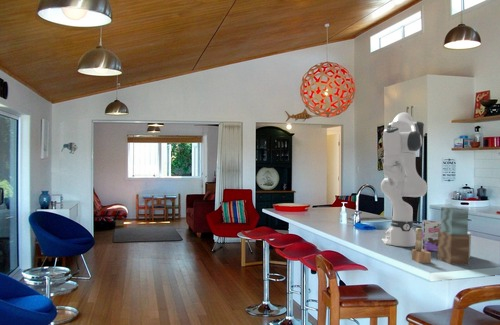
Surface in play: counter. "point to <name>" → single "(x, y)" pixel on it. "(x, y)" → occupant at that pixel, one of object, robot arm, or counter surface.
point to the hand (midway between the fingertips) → (395, 187)
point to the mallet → (420, 250)
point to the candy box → (430, 235)
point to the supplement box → (469, 242)
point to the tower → (453, 236)
